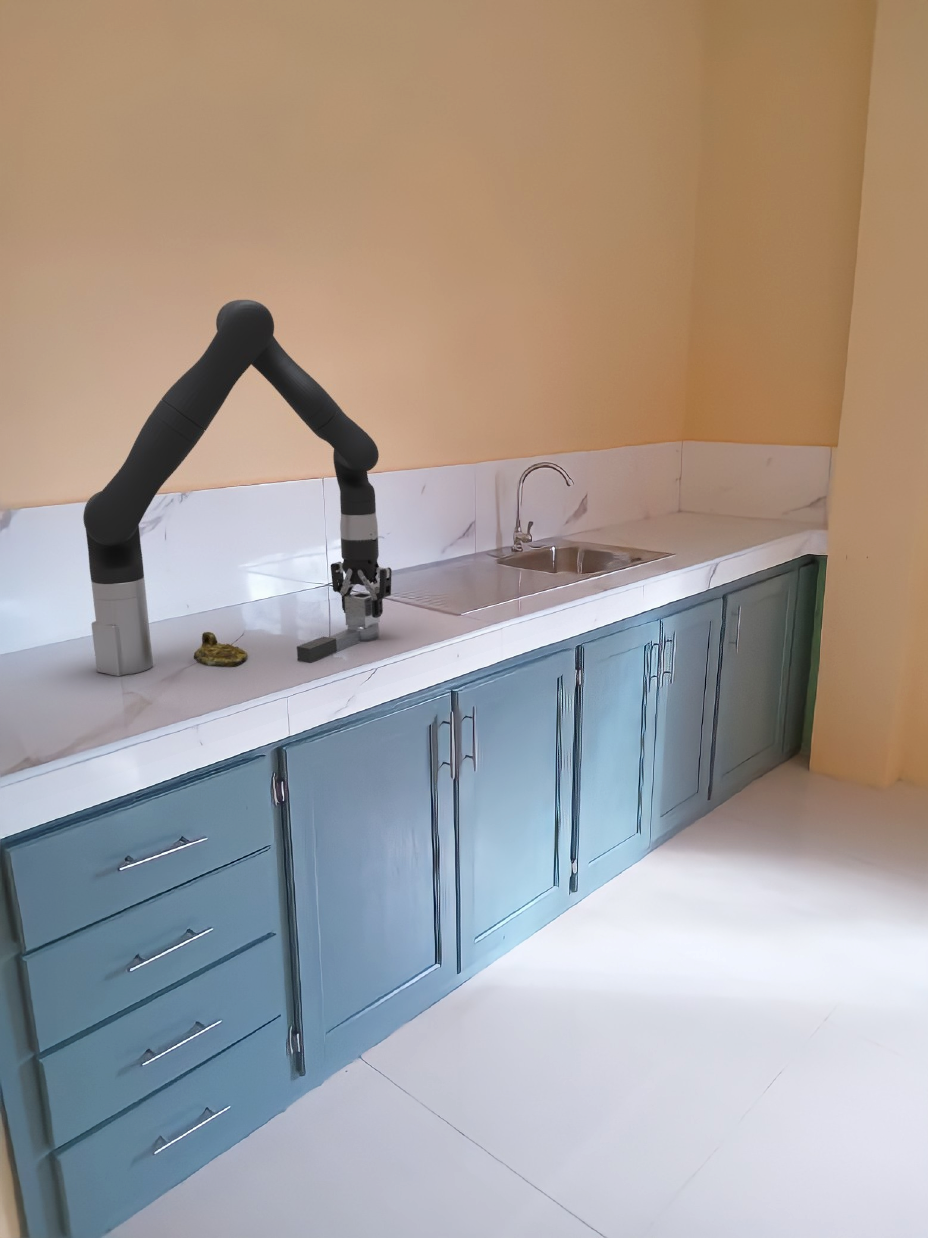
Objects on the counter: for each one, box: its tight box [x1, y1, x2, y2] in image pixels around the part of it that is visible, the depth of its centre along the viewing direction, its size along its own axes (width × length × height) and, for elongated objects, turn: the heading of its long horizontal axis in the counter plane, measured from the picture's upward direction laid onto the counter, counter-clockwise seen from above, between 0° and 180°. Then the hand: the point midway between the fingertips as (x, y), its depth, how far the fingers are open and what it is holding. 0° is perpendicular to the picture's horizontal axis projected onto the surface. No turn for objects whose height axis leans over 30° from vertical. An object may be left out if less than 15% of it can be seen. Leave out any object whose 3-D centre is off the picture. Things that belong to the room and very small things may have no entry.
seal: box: [193, 631, 249, 668], centre depth 183 cm, size 9×5×15 cm
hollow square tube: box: [344, 591, 381, 628], centre depth 194 cm, size 5×5×6 cm
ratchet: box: [296, 622, 380, 664], centre depth 188 cm, size 22×6×6 cm, turn 149°
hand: (362, 614), depth 195 cm, fingers open, 6 cm apart
